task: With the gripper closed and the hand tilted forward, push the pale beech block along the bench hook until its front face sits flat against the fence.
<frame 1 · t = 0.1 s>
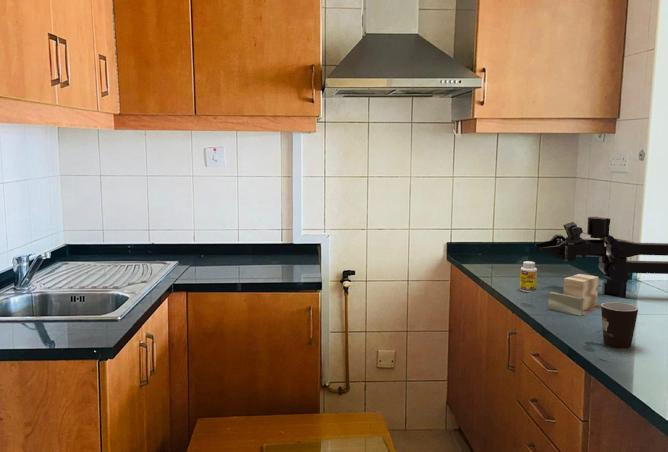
hand: (538, 247, 205), 17 cm above the counter, tool horizontal, fingers open, 9 cm apart
block: (579, 306, 187), point 1 cm above the counter, touching bench hook
bench hook: (576, 312, 186), on the counter
supplement bottle: (527, 291, 213), on the counter
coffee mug: (616, 343, 157), on the counter
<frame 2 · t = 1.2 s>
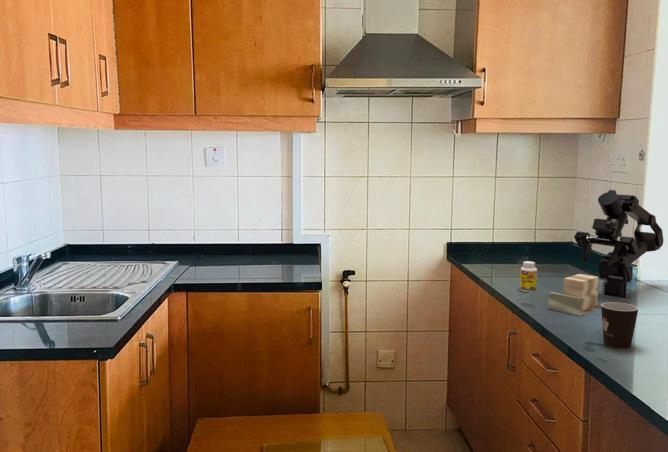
hand: (595, 263, 192), 14 cm above the counter, tool tilted 45°, fingers open, 8 cm apart
nothing on the counter moved.
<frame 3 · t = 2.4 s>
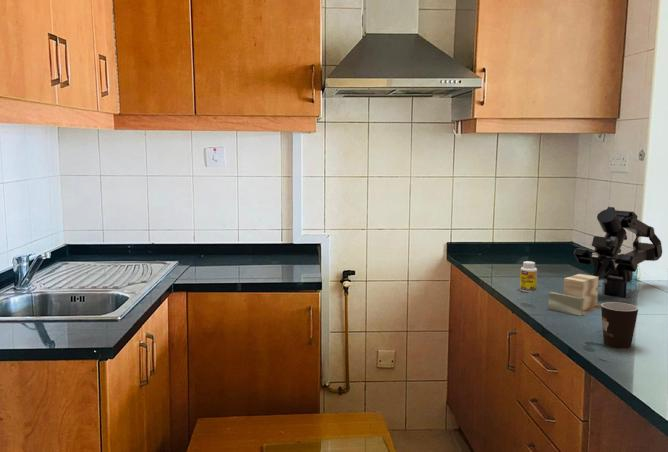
hand: (595, 280, 193), 8 cm above the counter, tool tilted 45°, fingers closed
nothing on the counter moved.
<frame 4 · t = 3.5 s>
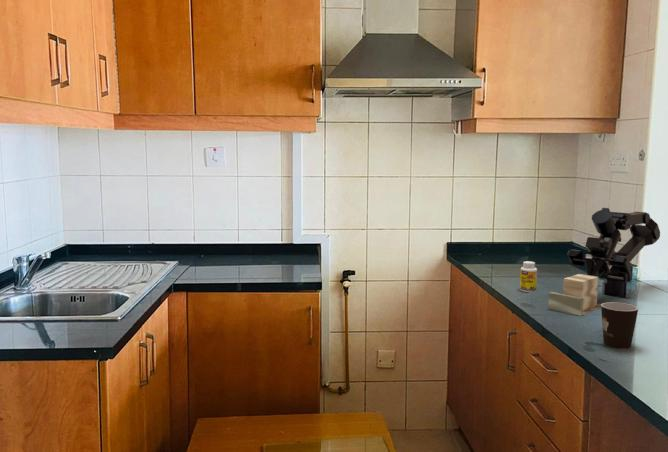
hand: (588, 282, 190), 8 cm above the counter, tool tilted 45°, fingers closed, pressing on block
block: (579, 306, 187), point 1 cm above the counter, touching bench hook, gripper
everything else where it was.
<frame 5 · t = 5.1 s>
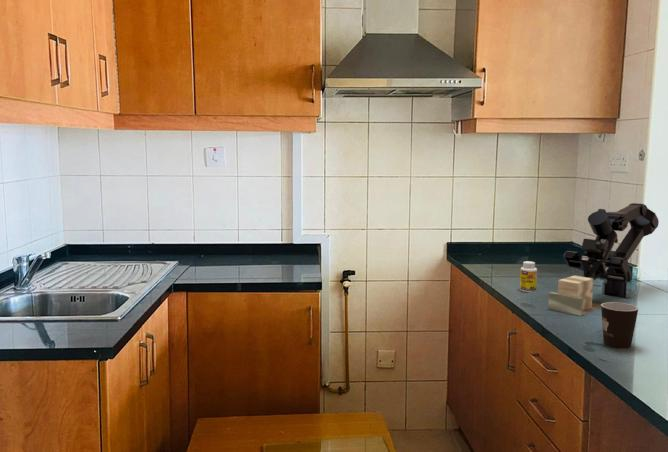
hand: (585, 284, 188), 8 cm above the counter, tool tilted 45°, fingers closed
block: (574, 308, 185), point 1 cm above the counter, touching bench hook
everything else where it was.
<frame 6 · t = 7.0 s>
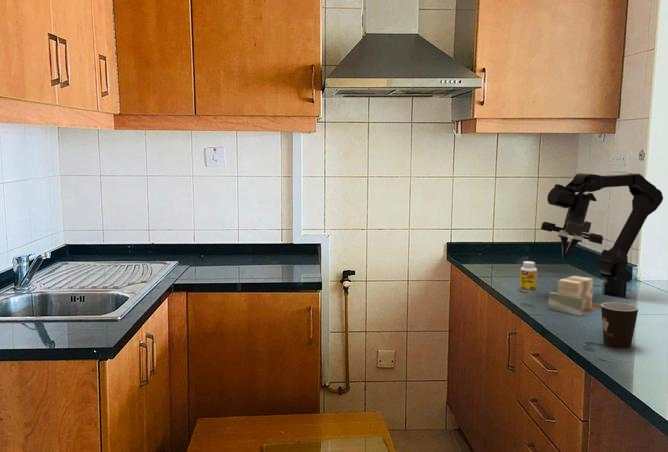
hand: (564, 258, 197), 14 cm above the counter, tool pointing down, fingers closed
nothing on the counter moved.
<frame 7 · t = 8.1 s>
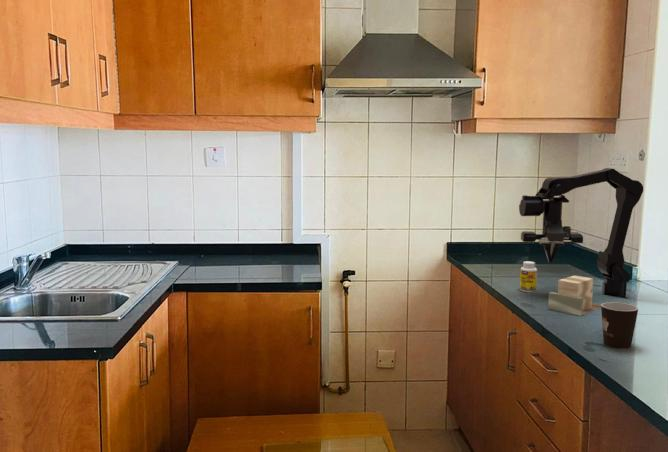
hand: (550, 263, 201), 12 cm above the counter, tool pointing down, fingers closed
nothing on the counter moved.
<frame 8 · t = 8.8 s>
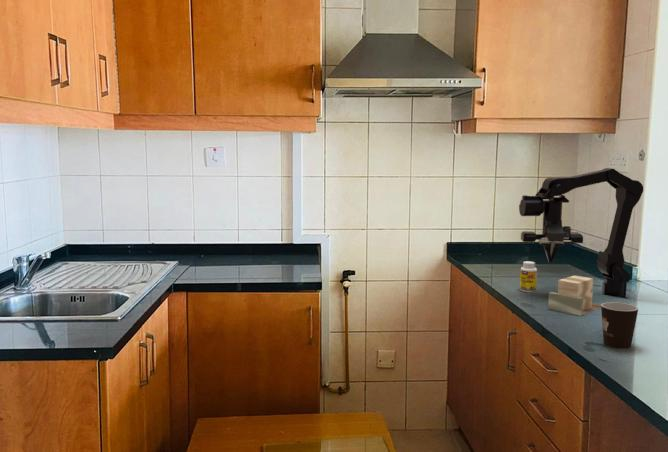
hand: (550, 263, 201), 12 cm above the counter, tool pointing down, fingers closed
nothing on the counter moved.
at the end: block 0.1 cm from the target spot on the bench hook, point 1.5 cm above the bench hook's base; block tilted 0° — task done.
